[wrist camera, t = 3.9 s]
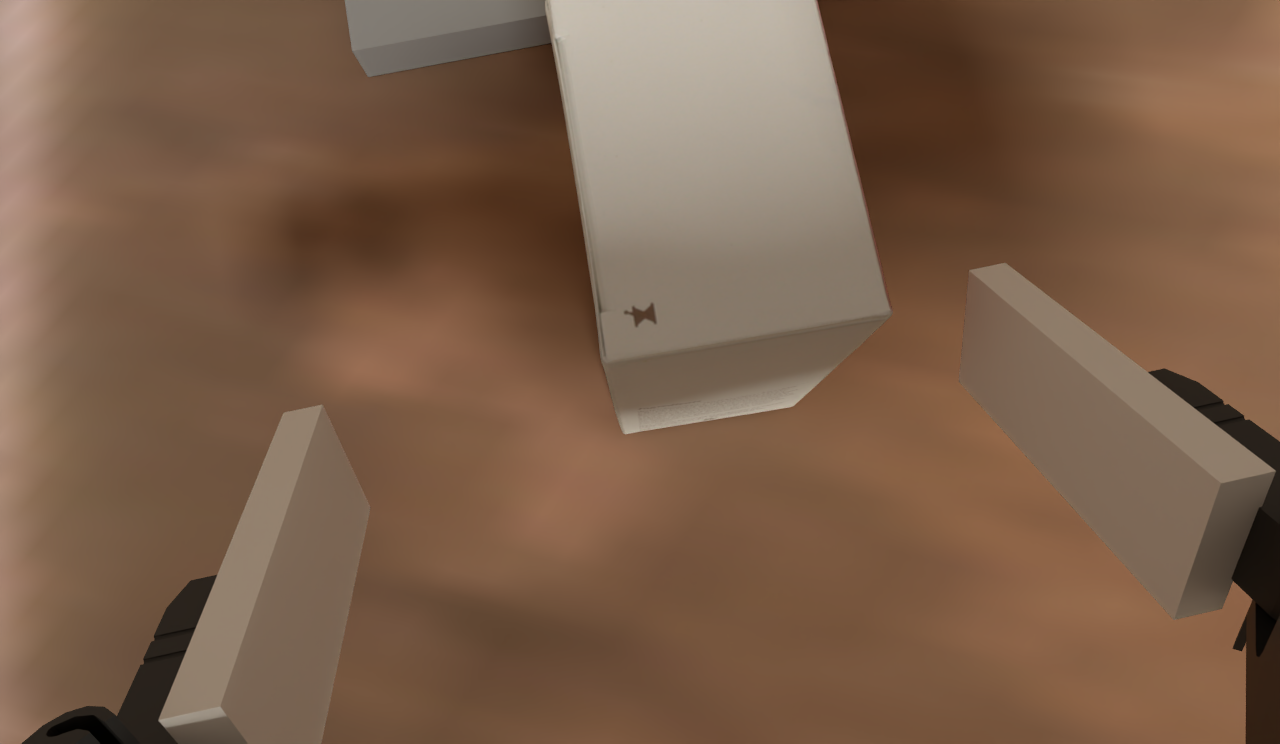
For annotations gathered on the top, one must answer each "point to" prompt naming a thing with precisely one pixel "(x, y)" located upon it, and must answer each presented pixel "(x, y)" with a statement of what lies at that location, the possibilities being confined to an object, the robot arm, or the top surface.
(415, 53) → the pedestal
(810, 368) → the small box
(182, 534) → the top surface
